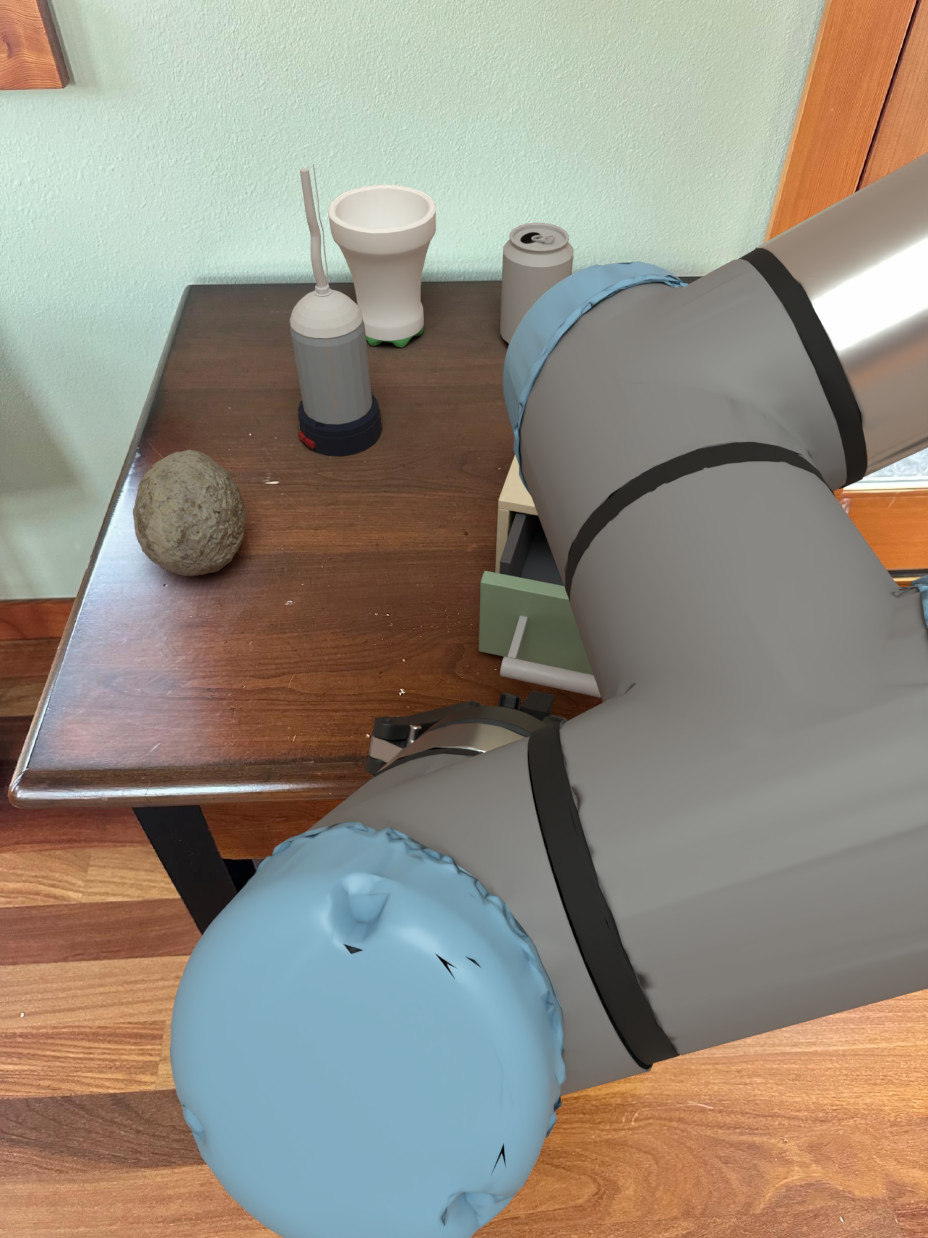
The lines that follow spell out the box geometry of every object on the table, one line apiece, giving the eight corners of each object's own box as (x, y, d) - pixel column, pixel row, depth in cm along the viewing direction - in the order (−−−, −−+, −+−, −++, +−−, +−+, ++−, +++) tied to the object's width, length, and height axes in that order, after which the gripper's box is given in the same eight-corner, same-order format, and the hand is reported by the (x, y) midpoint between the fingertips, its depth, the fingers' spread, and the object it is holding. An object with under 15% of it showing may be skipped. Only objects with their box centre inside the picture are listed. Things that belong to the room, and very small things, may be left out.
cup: (361, 368, 92) (347, 239, 81) (330, 319, 98) (313, 194, 88) (455, 345, 95) (453, 218, 84) (418, 299, 101) (413, 176, 90)
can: (519, 315, 99) (524, 211, 90) (576, 332, 96) (587, 227, 87) (487, 344, 95) (490, 239, 86) (546, 363, 92) (555, 257, 83)
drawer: (631, 744, 59) (650, 678, 53) (460, 706, 61) (460, 638, 55) (662, 553, 72) (681, 481, 66) (519, 526, 74) (524, 455, 68)
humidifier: (288, 450, 82) (236, 185, 63) (316, 402, 88) (276, 144, 69) (367, 461, 81) (339, 195, 62) (391, 412, 86) (371, 152, 67)
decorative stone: (242, 602, 69) (215, 512, 62) (141, 600, 69) (101, 510, 62) (265, 518, 76) (243, 428, 68) (173, 516, 76) (141, 425, 68)
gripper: (288, 881, 31) (429, 747, 54) (640, 976, 29) (630, 794, 52) (322, 684, 30) (450, 634, 53) (686, 766, 28) (655, 677, 51)
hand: (539, 713), depth 53 cm, fingers closed
